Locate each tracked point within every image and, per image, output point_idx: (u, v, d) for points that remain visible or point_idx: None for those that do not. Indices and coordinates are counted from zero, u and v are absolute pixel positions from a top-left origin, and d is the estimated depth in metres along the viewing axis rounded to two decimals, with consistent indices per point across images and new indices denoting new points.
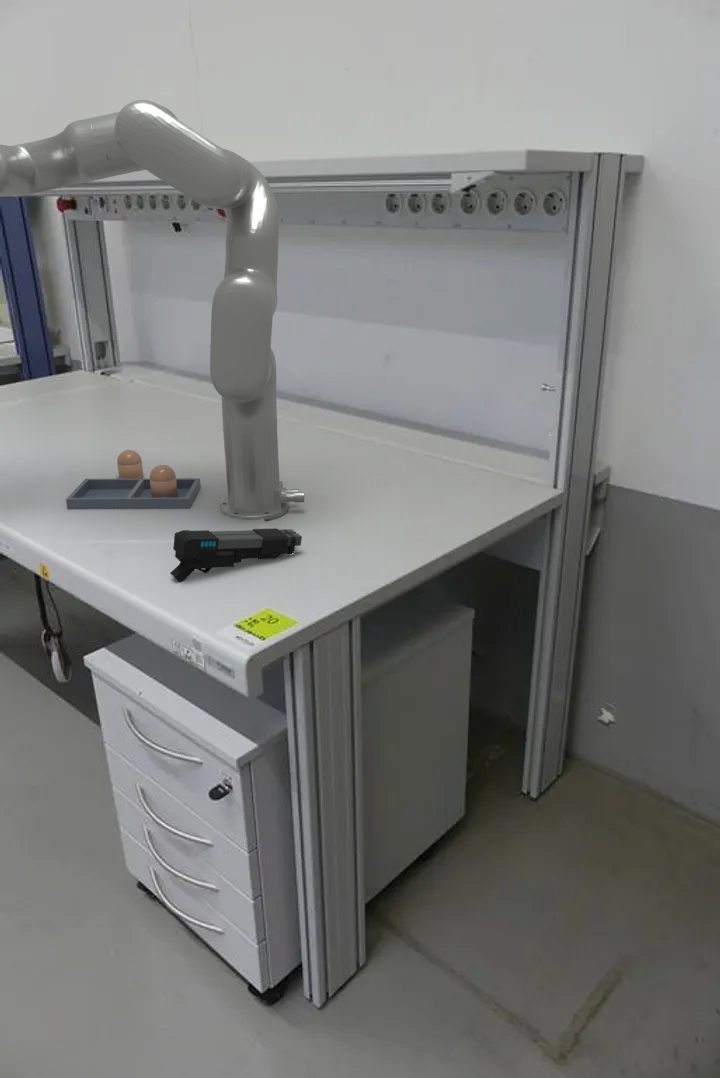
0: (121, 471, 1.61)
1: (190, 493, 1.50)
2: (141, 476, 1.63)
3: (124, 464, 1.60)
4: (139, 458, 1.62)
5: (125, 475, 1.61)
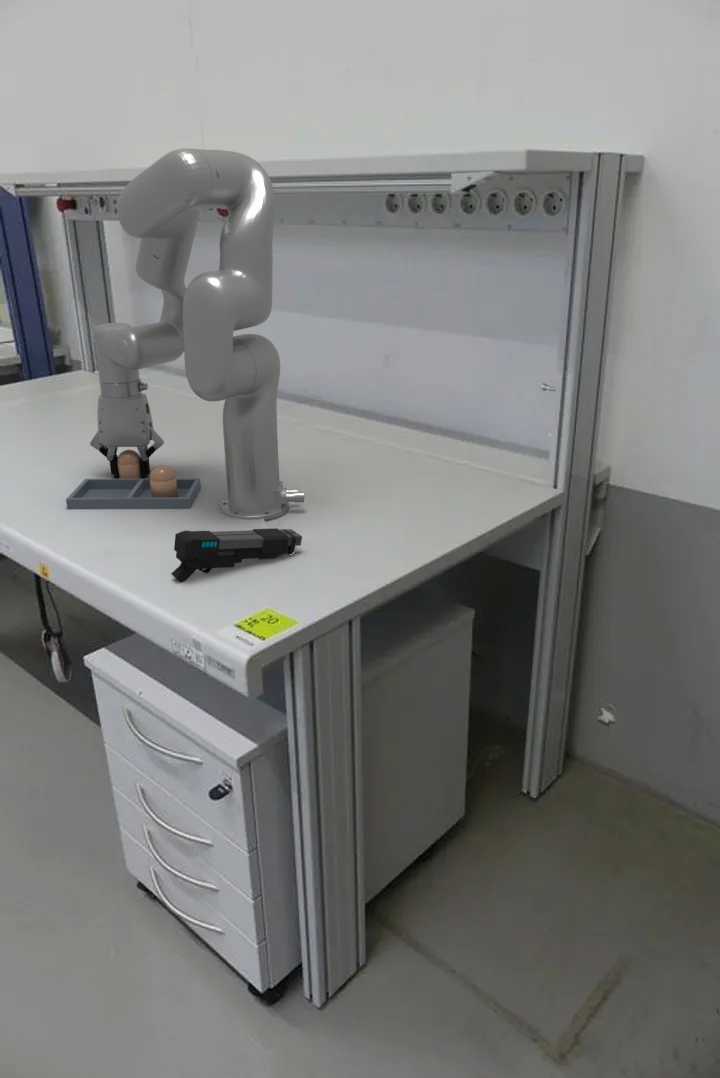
0: (121, 471, 1.61)
1: (190, 493, 1.50)
2: None
3: (124, 464, 1.60)
4: (139, 458, 1.62)
5: (125, 474, 1.61)
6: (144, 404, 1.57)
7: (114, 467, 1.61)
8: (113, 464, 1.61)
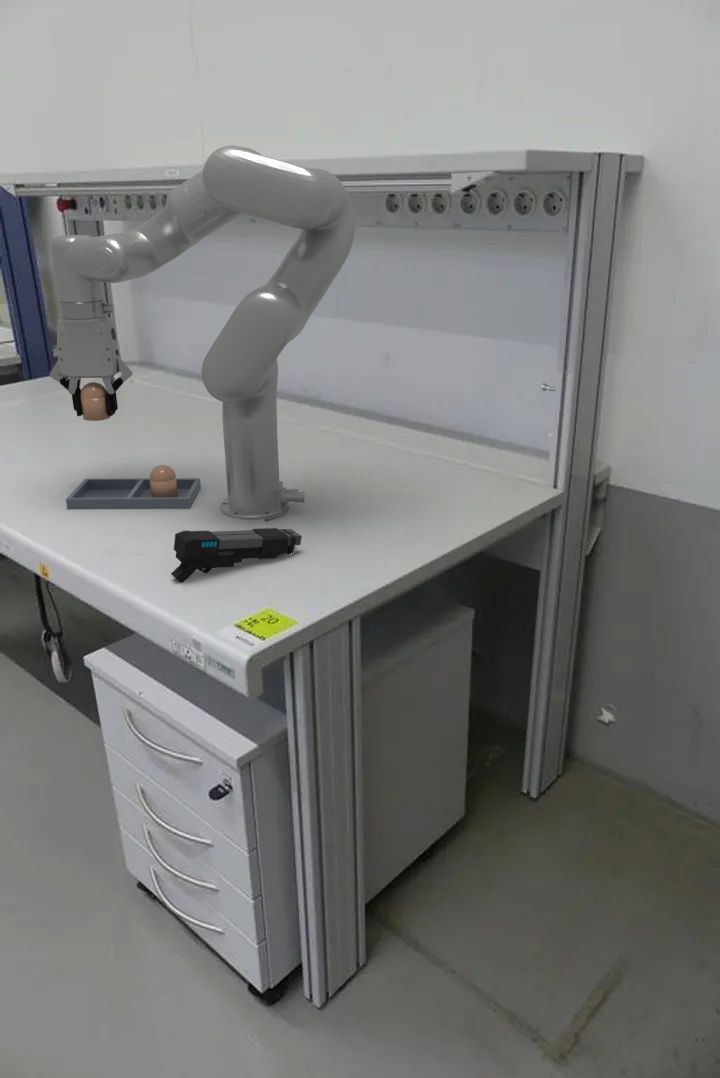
0: (84, 405, 1.44)
1: (190, 493, 1.50)
2: None
3: (88, 397, 1.43)
4: (105, 391, 1.45)
5: (89, 409, 1.44)
6: (109, 328, 1.40)
7: (77, 401, 1.44)
8: (75, 398, 1.44)
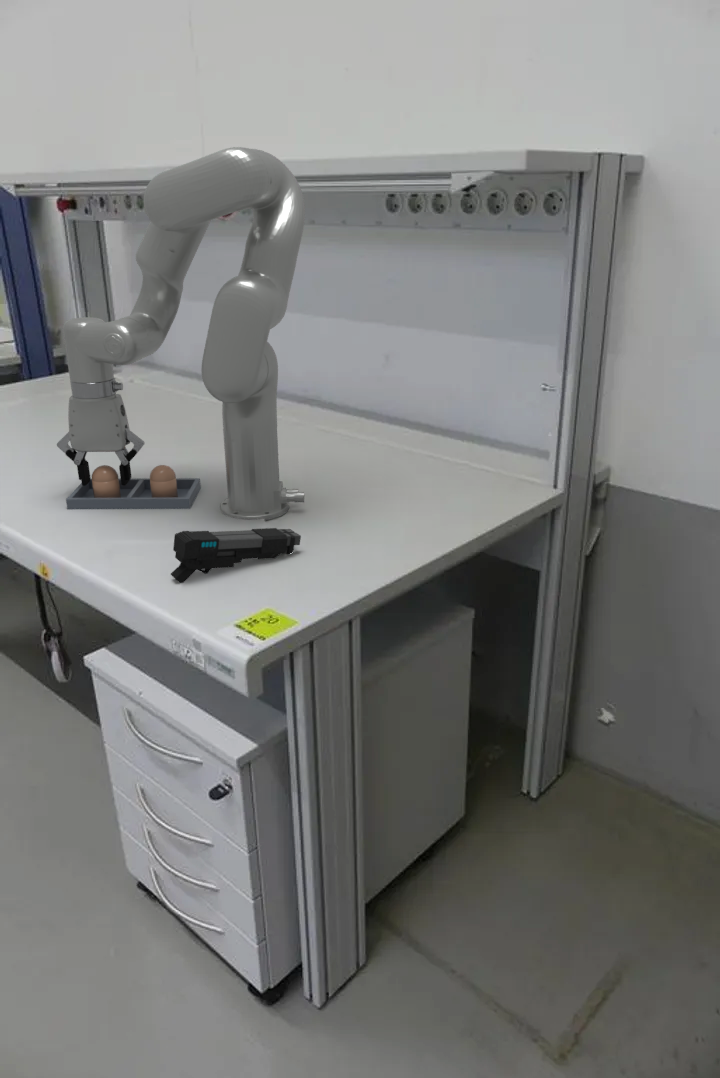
0: (95, 488, 1.50)
1: (190, 493, 1.50)
2: (118, 493, 1.52)
3: (99, 481, 1.49)
4: (115, 474, 1.51)
5: (101, 492, 1.50)
6: (119, 405, 1.45)
7: (82, 472, 1.49)
8: (81, 469, 1.49)
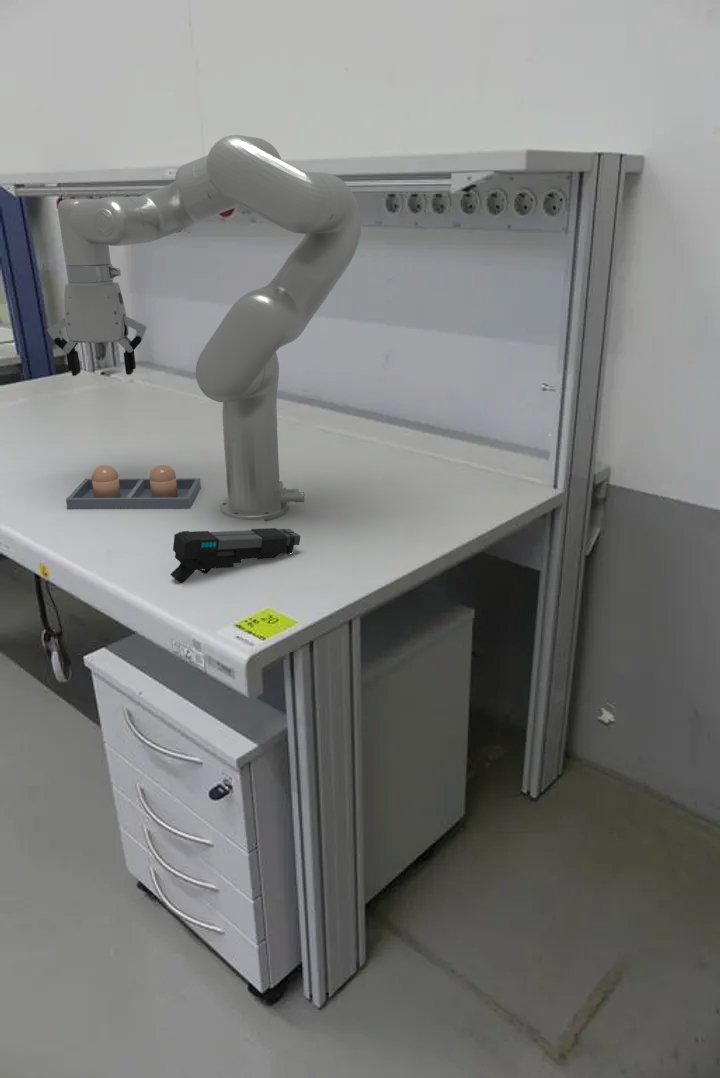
0: (96, 488, 1.50)
1: (190, 493, 1.50)
2: (118, 493, 1.52)
3: (99, 481, 1.49)
4: (115, 474, 1.51)
5: (101, 492, 1.50)
6: (117, 292, 1.41)
7: (72, 360, 1.44)
8: (70, 357, 1.44)
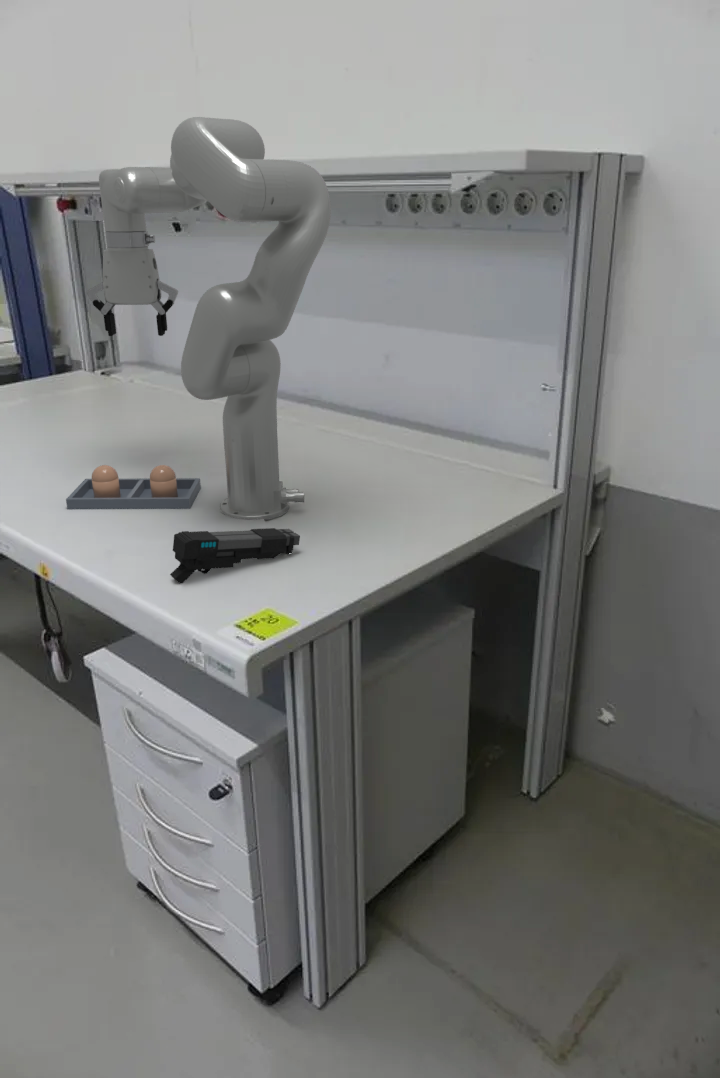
0: (96, 488, 1.50)
1: (190, 493, 1.50)
2: (118, 493, 1.52)
3: (99, 481, 1.49)
4: (115, 474, 1.51)
5: (101, 492, 1.50)
6: (151, 258, 1.51)
7: (108, 321, 1.55)
8: (107, 318, 1.55)
